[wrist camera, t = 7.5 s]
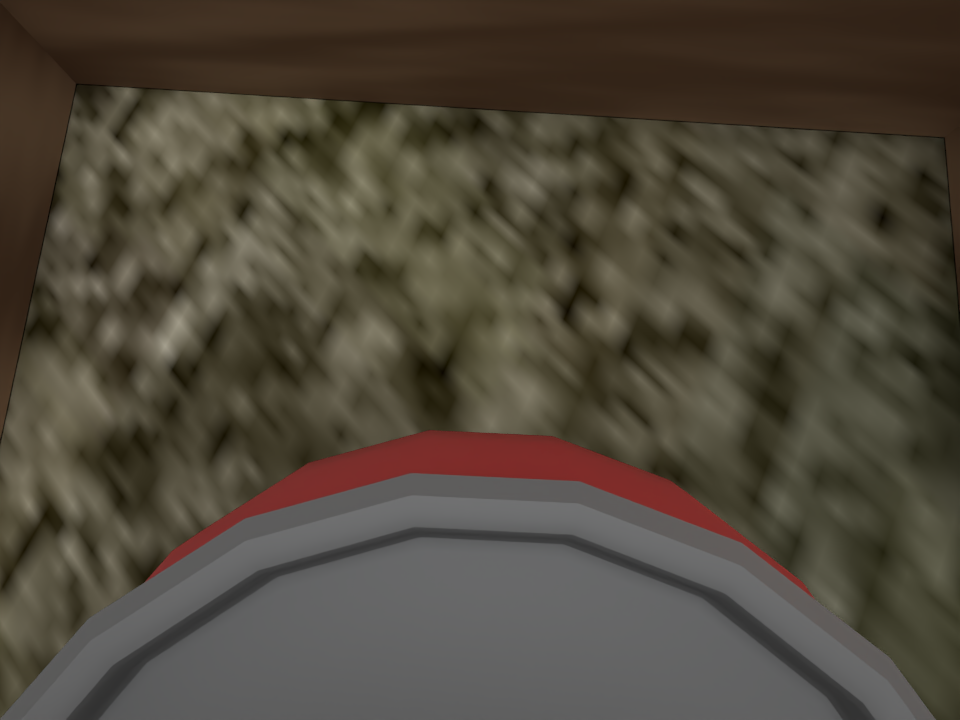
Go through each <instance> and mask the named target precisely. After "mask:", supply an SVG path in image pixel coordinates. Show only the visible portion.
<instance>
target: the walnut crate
mask: <svg viewBox="0 0 960 720" xmlns="http://www.w3.org/2000/svg"><path fill="white" fill-rule="evenodd" d="M76 84H91V85H107V86H124V87H140V88H156V89H172V90H188V91H204V92H221V93H237V94H253V95H269V96H285V97H301V98H317V99H334V100H350V101H366V102H382V103H398V104H414V105H431V106H447V107H463V108H479V109H495V110H511V111H528V112H544V113H560V114H576V115H592V116H608V117H624V118H641V119H657V120H673V121H689V122H705V123H721V124H738V125H754V126H770V127H786V128H802V129H818V130H835V131H851V132H867V133H883V134H899V135H915V136H931V137H945V144H946V156H947V168H948V180H949V192H950V203H951V215H952V227H953V239H954V251H955V262H956V274H957V286H958V298H959V310H960V0H0V439H1V434H2V430H3V425H4V420H5V416H6V411H7V406H8V402H9V397H10V392H11V387H12V383H13V378H14V373H15V369H16V364H17V359H18V355H19V350H20V345H21V341H22V336H23V331H24V326H25V322H26V317H27V312H28V308H29V303H30V298H31V294H32V289H33V284H34V279H35V275H36V270H37V265H38V261H39V256H40V251H41V247H42V242H43V237H44V233H45V228H46V223H47V218H48V214H49V209H50V204H51V200H52V195H53V190H54V186H55V181H56V176H57V172H58V167H59V162H60V157H61V153H62V148H63V143H64V139H65V134H66V129H67V125H68V120H69V115H70V111H71V106H72V101H73V96H74V92H75V87H76Z"/></svg>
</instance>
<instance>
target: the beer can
mask: <svg viewBox="0 0 960 720" xmlns="http://www.w3.org/2000/svg"><path fill="white" fill-rule="evenodd" d="M0 720H936V719H935V718H934V717H933V715H932V714H931V713H930V711H929V710H928V709H927V707H926V706H925V705H924V703H923V702H922V700H921V699H920V698H919V696H918V695H917V694H916V692H915V691H914V690H913V688H912V687H911V686H910V684H909V683H908V681H907V680H906V679H905V677H904V676H903V675H902V673H901V672H900V671H899V669H898V668H897V667H896V665H895V664H894V662H893V661H892V660H891V658H889V657H888V656H887V655H886V654H884V653H883V652H882V651H880V650H879V649H878V648H877V647H875V646H874V645H873V644H871V643H870V642H869V641H868V640H866V639H865V638H864V637H862V636H861V635H860V634H859V633H857V632H856V631H855V630H853V629H852V628H851V627H850V626H848V625H847V624H846V623H844V622H843V621H842V620H841V619H839V618H838V617H837V616H835V615H834V614H833V613H832V612H830V611H829V610H828V609H826V608H825V607H824V606H823V605H821V604H820V603H819V602H817V601H816V600H815V599H814V597H813V596H812V595H811V593H810V592H809V591H808V589H807V588H806V586H805V585H804V584H803V582H802V581H800V580H799V579H798V578H796V577H795V576H794V575H793V574H791V573H790V572H789V571H787V570H786V569H785V568H783V567H782V566H781V565H780V564H778V563H777V562H776V561H774V560H773V559H772V558H771V557H769V556H768V555H767V554H765V553H764V552H763V551H762V550H760V549H759V548H758V547H756V546H755V545H754V544H753V543H751V542H750V541H749V540H747V539H746V538H745V537H743V536H742V535H741V534H740V533H738V532H737V531H736V530H734V529H733V528H732V527H731V526H729V525H728V524H727V523H725V522H724V521H723V520H722V519H720V518H719V517H718V516H716V515H715V514H714V513H713V512H711V511H710V510H709V509H707V508H706V507H705V506H703V505H702V504H701V503H700V502H698V501H697V500H696V499H694V498H693V497H692V496H691V495H689V494H688V493H687V492H685V491H684V490H683V489H681V488H680V487H678V486H677V485H676V484H674V483H673V482H672V481H670V480H668V479H665V478H662V477H660V476H657V475H654V474H652V473H649V472H646V471H644V470H641V469H638V468H636V467H633V466H630V465H628V464H625V463H622V462H620V461H617V460H614V459H612V458H609V457H606V456H604V455H601V454H598V453H596V452H593V451H591V450H588V449H585V448H583V447H580V446H577V445H575V444H572V443H569V442H567V441H564V440H561V439H559V438H556V437H553V436H539V435H518V434H498V433H477V432H456V431H435V430H428V431H425V432H421V433H417V434H414V435H410V436H406V437H402V438H399V439H395V440H391V441H388V442H384V443H380V444H376V445H373V446H369V447H365V448H362V449H358V450H354V451H351V452H347V453H343V454H339V455H336V456H332V457H328V458H325V459H321V460H317V461H314V462H310V463H308V464H306V465H305V466H303V467H301V468H300V469H298V470H297V471H295V472H294V473H292V474H290V475H289V476H287V477H286V478H284V479H283V480H281V481H279V482H278V483H276V484H275V485H273V486H272V487H270V488H268V489H267V490H265V491H264V492H262V493H261V494H259V495H257V496H256V497H254V498H253V499H251V500H249V501H248V502H246V503H245V504H243V505H242V506H240V507H238V508H237V509H235V510H234V511H232V512H231V513H229V514H227V515H226V516H224V517H223V518H221V519H220V520H218V521H216V522H215V523H213V524H212V525H210V526H209V527H207V528H205V529H204V530H202V531H201V532H199V533H198V534H196V535H195V536H193V537H192V538H190V539H189V540H187V541H186V542H185V543H183V544H182V545H180V546H179V547H177V548H176V549H174V550H173V551H172V552H171V553H170V554H169V555H168V556H167V557H166V559H165V560H164V561H163V562H162V563H161V564H160V565H159V567H158V568H157V569H156V570H155V571H154V572H153V573H152V575H151V576H150V577H149V578H148V579H147V580H146V581H145V583H143V584H142V585H140V586H138V587H137V588H135V589H134V590H132V591H131V592H129V593H128V594H126V595H124V596H123V597H121V598H120V599H118V600H117V601H115V602H113V603H112V604H110V605H109V606H107V607H106V608H104V609H103V610H101V611H99V612H98V613H96V614H95V615H93V616H92V617H90V618H89V619H88V620H87V621H86V622H85V623H84V624H83V626H82V627H81V628H80V629H79V630H78V631H77V632H76V633H75V635H74V636H73V637H72V638H71V639H70V640H69V641H68V643H67V644H66V645H65V646H64V647H63V648H62V649H61V650H60V652H59V653H58V654H57V655H56V656H55V657H54V658H53V660H52V661H51V662H50V663H49V664H48V665H47V666H46V668H45V669H44V670H43V671H42V672H41V673H40V674H39V675H38V677H37V678H36V679H35V680H34V681H33V682H32V683H31V685H30V686H29V687H28V688H27V689H26V690H25V691H24V692H23V694H22V695H21V696H20V697H19V698H18V699H17V700H16V702H15V703H14V704H13V705H12V706H11V707H10V708H9V709H8V711H7V712H6V713H5V714H4V715H3V716H2V717H1V719H0Z"/></svg>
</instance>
